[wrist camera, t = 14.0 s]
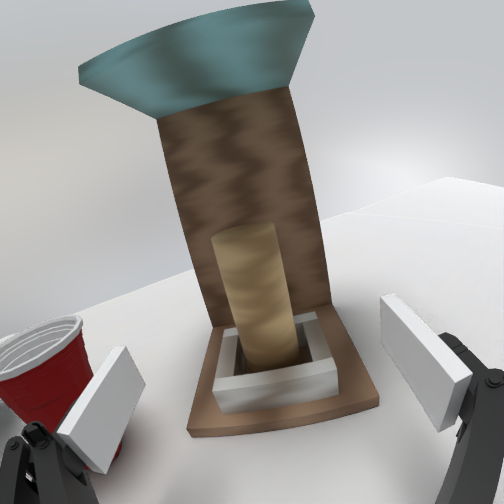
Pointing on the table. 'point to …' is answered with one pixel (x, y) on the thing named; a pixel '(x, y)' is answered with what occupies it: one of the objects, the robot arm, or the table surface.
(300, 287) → the awning stand
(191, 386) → the table surface
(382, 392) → the table surface
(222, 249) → the peg
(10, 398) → the plastic cup
